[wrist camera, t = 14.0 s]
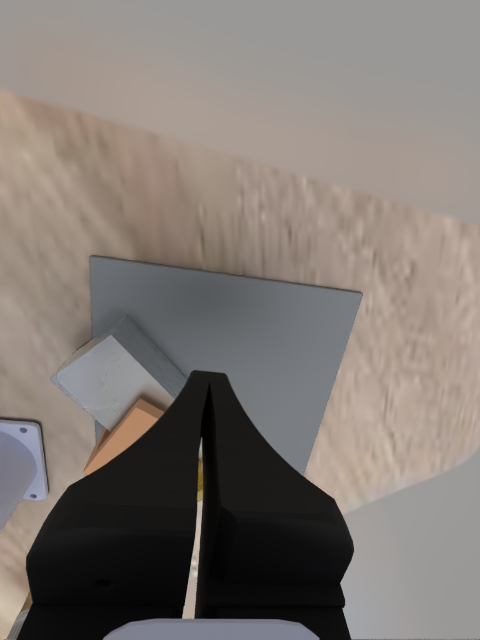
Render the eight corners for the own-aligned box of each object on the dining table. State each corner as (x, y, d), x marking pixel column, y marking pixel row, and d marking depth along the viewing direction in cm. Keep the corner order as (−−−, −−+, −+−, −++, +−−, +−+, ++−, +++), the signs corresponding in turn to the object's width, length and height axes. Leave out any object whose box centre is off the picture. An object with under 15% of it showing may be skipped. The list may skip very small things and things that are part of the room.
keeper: (135, 433, 24) (117, 488, 20) (107, 419, 23) (82, 472, 19) (181, 380, 22) (172, 426, 18) (153, 362, 22) (136, 407, 17)
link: (245, 441, 24) (248, 474, 21) (197, 469, 25) (194, 504, 22) (126, 314, 20) (111, 334, 17) (72, 353, 20) (49, 379, 18)
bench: (98, 462, 25) (82, 499, 22) (91, 255, 18) (67, 268, 15) (300, 475, 27) (310, 511, 24) (360, 292, 20) (384, 310, 17)
